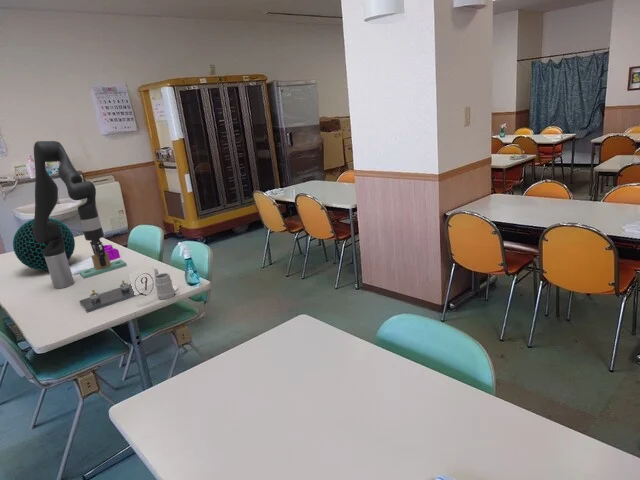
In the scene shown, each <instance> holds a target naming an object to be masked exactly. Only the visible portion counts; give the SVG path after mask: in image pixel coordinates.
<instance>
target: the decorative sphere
mask: <svg viewBox="0 0 640 480" xmlns="http://www.w3.org/2000/svg"><path fill="white" fill-rule="evenodd" d="M49 221H54V222H56V223H57V224H58V225H59V227H60V229H61V232H62V236H63V241H64V250H65V253H66V257H67V260H68V261H69V260H70V259H71V257H72V255H73V254H74V252H75V248H76V241H75V240H76V239H75V237H74V234H73V232H72V230H71V229H70V228H69V227H68V226H67V225H66V224H65V223H63V222H61V220H58V219H56V218H52V217H49V218H48V222H49ZM33 223H34V218H32V219H30V220H28V221H26V222H24V223H23V224H22V225H20V227H18V229H17V230H16V232H15V233H14V235H13V240H12V248H13V252H14V255H15V257H16V258H17V259H18V261H20V262H21V264H23V265H24V266H26V267H28V268H30V269H34V270H38V271H49V269H48V266H47V263H46V260H45V257H44V254H43V250H44V249H45V248H46V247H47V246H48V245H49V242H46V243H38V242H37V241H36V240H35V239H34V236H33Z"/></svg>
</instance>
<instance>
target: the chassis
mask: <svg viewBox="0 0 640 480" xmlns="http://www.w3.org/2000/svg"><path fill="white" fill-rule="evenodd" d="M131 284H132V283H130V284H129V283H128V282H127V283H126V282H125V280H123V279H122V280H121V284H120V285H119V287H117V288H114V289H112V290H108V291H105V292H102V293H99V292H96V291H95V289H92V290H91V292H92V293H91V294H89V297H87V298H86V297H85V298H84V299H81V300H78V302H79V304H80V306H81V307H82V308H83V309H84V310H85V311H86V313H90V312H95V311H96V310H99V309H102V308H104V307H108V306H111V305H114V304H116V303H120V302H122V301H125V300H128V299H131V298H134V297H136V296H135V295H134V291H133V289H132V286H131Z"/></svg>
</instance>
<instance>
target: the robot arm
mask: <svg viewBox="0 0 640 480" xmlns="http://www.w3.org/2000/svg"><path fill="white" fill-rule="evenodd" d="M33 161H34V170H35V171H34V172H35V175H34V177H35V181H34V182H35V185H34V217H33V219H34V223H33V236H34V239H35V240H36V241H37V242H38V243H46V242H49V245H48V246H47V247H46V248H45V249H44V250H43V254H44V257H45V260H46V263H47V266H48V269H49V270H48V272H49V276H50V278H51V281H52V285H53V288H54V289H56V290H57V289H64V288H65V289H66V288H68V287H70V286H73V285H74V284H75V280H74V277H73V273H72V270H71V267H70V263H69V260H67V257H66V253H65V250H64V241H63V236H62V232H61V229H60V227H59V225H58V224H57V223H56V222H54V221H49V222H48V218H50V215H51V214H52V212H53V210H54V209H55V208H56V206H57V203H58V201H59V200H58V198H59V187H58V185H57V183H56V182H55V181H54V180H53V178H52V177H51V176H50V175H49V173H48V171H47V168H46V163H53V162H55V163H56V162H59V166H58V168H57V169H58V170H57V172H58V173H57V174H58V177H59V178H60V179H61V181H62V182H63V183H64V184H65V186H66V190H67V194H68V196H69V198H70V199H71V200H73V201H81V200H84V199H85V200H86V201H85V203H83V204H81V205H78V207H77V211H78V215H79V219H80V220H79V221H80V226H81V228H82V232H83V235H84V239H85V240H86V241H87V242H88V241H90V242H89V244H90V247H91V249H92V252H93V255H96V254H97V255H98V258H99V261H100V265H101V266H106V261H105V258H104V257H106V255H105V251H104V245H103V244H104V243H103V242H102V241H101V239H102V238H104V237H105V234H104V230H103V226H102V223H101V220H100V217H99V215H98V210H97V203H96V198H97V197H96V196H97V190H96V186H95V184H94V183H93V182H92V181H89V180H87V181H85V180H84V179H83V176H81V174H80V173H79V172H78V171H77V169H76V168H75V167H74V165H73V163H72V161H71V160H70V158H69V155H68V153H67V152H66V150H65V148H64V147H63V145H62V144H61V143H60V142H59V141H57V140H56V141H55V140H40V141H39V140H38V141H36V142H34V144H33ZM83 180H84V181H83ZM101 253H102V255H100V254H101Z"/></svg>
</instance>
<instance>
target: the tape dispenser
mask: <svg viewBox="0 0 640 480" xmlns="http://www.w3.org/2000/svg"><path fill="white" fill-rule="evenodd" d="M104 251H105V252H106V253H108V256H109V260H110V262H112V261H115V260H117V259H121V253H120V251H119V249H118V248H114V247H113V244H105V245H104Z"/></svg>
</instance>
